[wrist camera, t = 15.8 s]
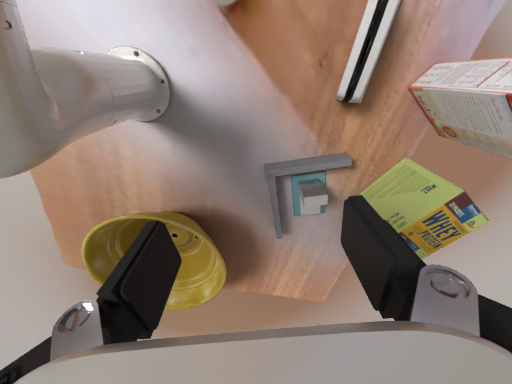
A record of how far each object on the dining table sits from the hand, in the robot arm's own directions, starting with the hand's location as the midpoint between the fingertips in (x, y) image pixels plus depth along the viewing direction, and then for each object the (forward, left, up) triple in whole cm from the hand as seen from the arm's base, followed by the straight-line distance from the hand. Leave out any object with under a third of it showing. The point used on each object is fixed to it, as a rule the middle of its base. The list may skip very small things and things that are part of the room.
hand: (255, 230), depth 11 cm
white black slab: (+20, +7, -36) cm, 42 cm away
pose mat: (+10, -22, -36) cm, 43 cm away
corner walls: (+10, -22, -36) cm, 43 cm away
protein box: (+30, -24, -36) cm, 53 cm away
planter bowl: (-28, -29, -36) cm, 54 cm away
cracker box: (+36, -4, -36) cm, 51 cm away
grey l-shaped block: (+10, -22, -36) cm, 43 cm away
